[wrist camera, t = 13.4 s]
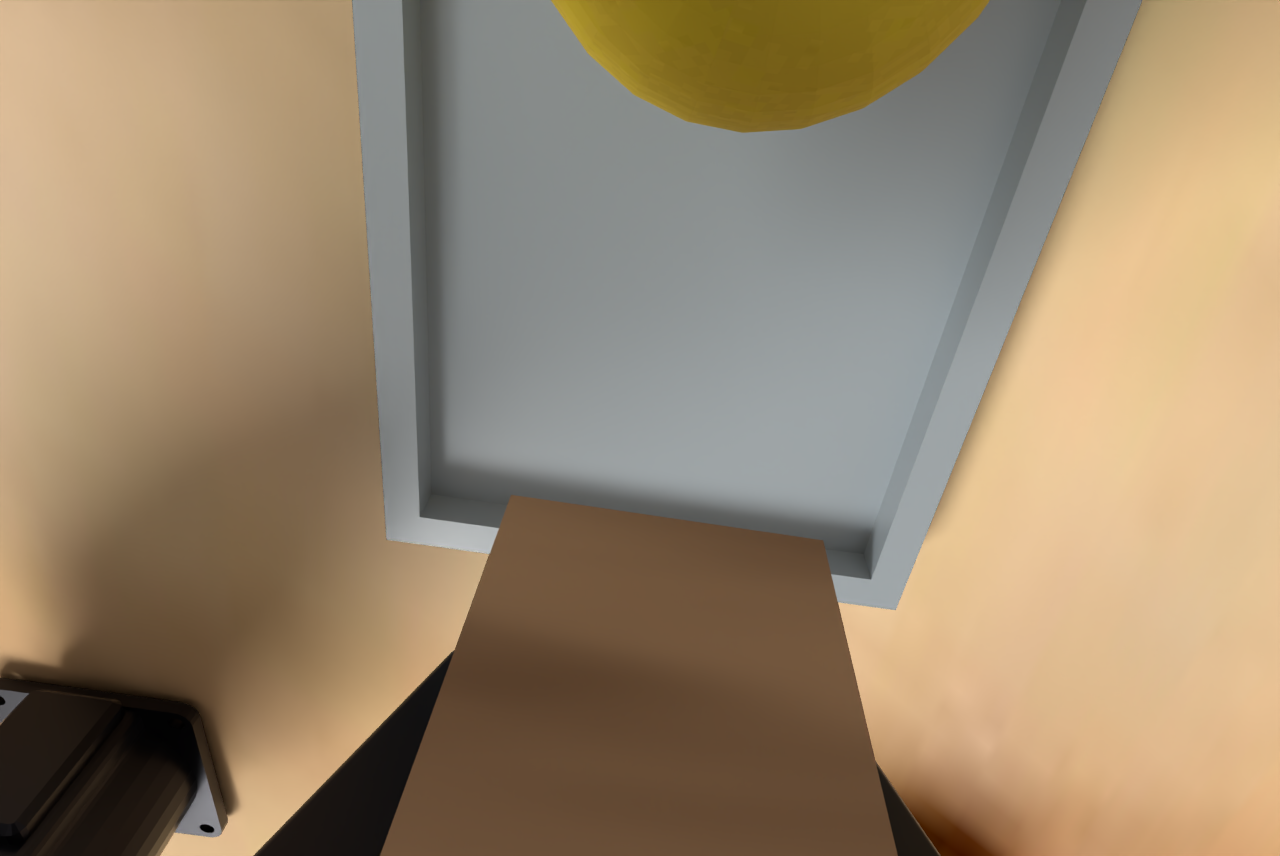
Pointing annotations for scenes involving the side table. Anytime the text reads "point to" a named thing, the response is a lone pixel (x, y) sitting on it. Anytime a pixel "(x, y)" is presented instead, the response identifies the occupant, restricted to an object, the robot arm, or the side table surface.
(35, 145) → the side table surface
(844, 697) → the walnut block
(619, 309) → the tray
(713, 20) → the lemon
